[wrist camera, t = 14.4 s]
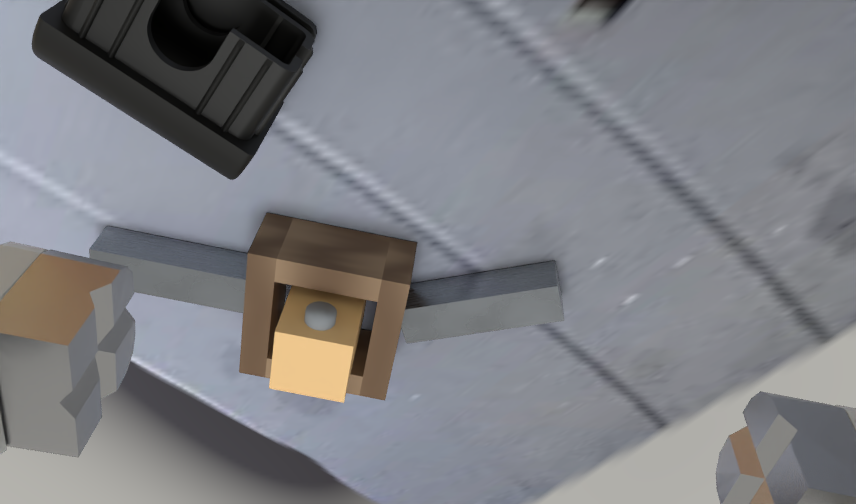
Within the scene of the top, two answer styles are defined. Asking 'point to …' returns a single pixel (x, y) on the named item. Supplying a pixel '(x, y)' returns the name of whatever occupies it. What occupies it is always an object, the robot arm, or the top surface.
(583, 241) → the top surface
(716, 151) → the top surface
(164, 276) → the steel shafts
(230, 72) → the end cap
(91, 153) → the top surface
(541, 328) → the top surface
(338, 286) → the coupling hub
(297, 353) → the block
